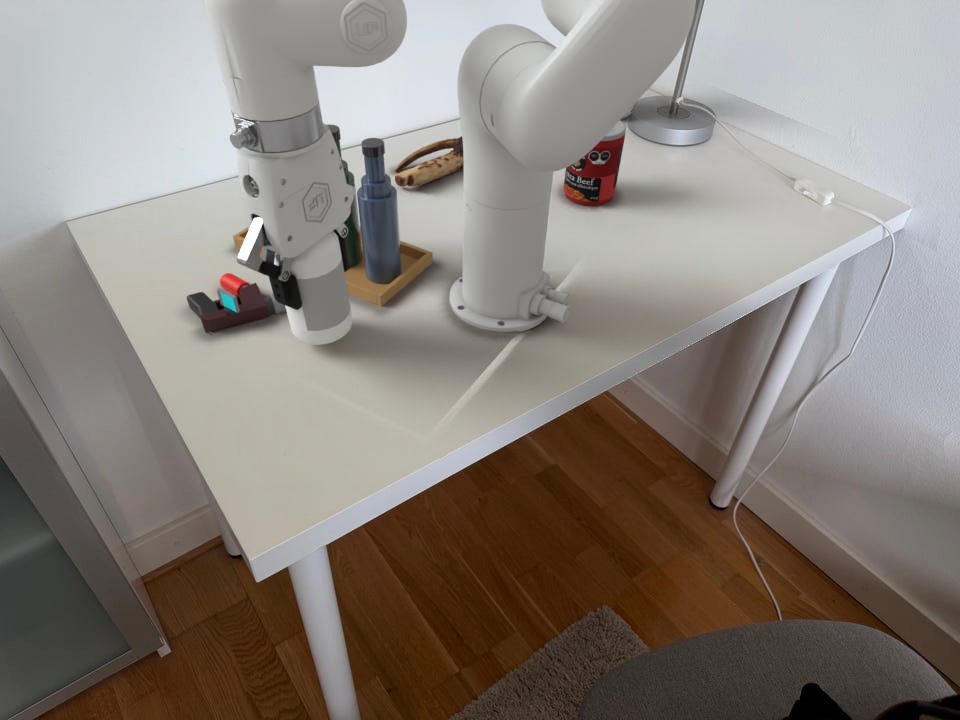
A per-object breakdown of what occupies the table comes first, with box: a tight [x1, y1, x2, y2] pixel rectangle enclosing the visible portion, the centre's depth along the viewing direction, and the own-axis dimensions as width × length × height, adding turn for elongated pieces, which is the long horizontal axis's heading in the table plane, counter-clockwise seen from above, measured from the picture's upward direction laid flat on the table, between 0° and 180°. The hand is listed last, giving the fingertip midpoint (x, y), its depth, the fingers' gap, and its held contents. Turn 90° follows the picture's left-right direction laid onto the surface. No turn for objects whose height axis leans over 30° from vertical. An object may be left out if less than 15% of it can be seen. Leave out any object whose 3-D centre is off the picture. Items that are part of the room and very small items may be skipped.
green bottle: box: [326, 124, 363, 268], centre depth 84 cm, size 5×5×18 cm
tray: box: [232, 225, 434, 307], centre depth 90 cm, size 24×11×2 cm, turn 59°
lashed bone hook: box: [394, 135, 464, 188], centre depth 108 cm, size 9×5×18 cm
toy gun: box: [186, 272, 287, 335], centre depth 81 cm, size 10×12×5 cm
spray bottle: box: [274, 182, 354, 346], centre depth 71 cm, size 7×7×18 cm
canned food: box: [563, 119, 627, 207], centre depth 102 cm, size 8×8×11 cm
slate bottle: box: [356, 137, 402, 284], centre depth 82 cm, size 5×5×18 cm
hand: (313, 284), depth 73 cm, fingers closed on spray bottle, 6 cm apart
